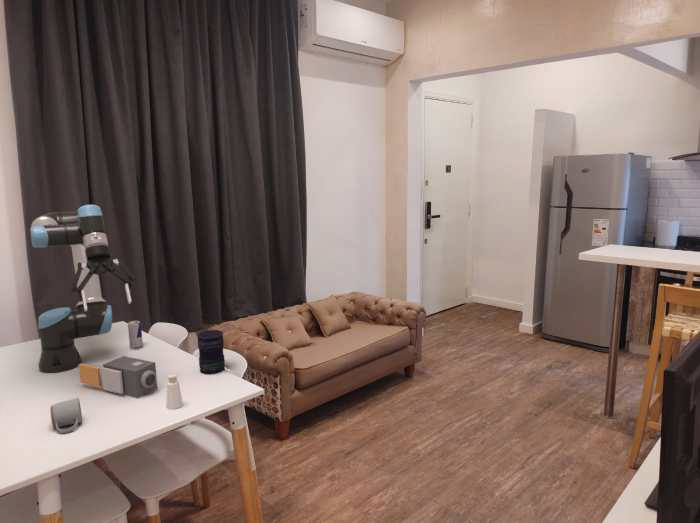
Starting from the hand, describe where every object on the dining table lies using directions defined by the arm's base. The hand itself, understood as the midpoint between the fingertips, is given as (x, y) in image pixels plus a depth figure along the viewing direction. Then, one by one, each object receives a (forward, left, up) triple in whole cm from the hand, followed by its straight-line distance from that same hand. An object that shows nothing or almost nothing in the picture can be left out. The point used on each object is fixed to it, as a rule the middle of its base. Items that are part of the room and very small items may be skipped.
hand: (108, 306), depth 170 cm
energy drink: (-35, +40, -34) cm, 63 cm away
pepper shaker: (+22, +4, -34) cm, 40 cm away
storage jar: (+13, +34, -34) cm, 50 cm away
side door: (-11, +2, -32) cm, 34 cm away
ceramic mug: (+1, -19, -34) cm, 39 cm away
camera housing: (-1, +8, -33) cm, 34 cm away
